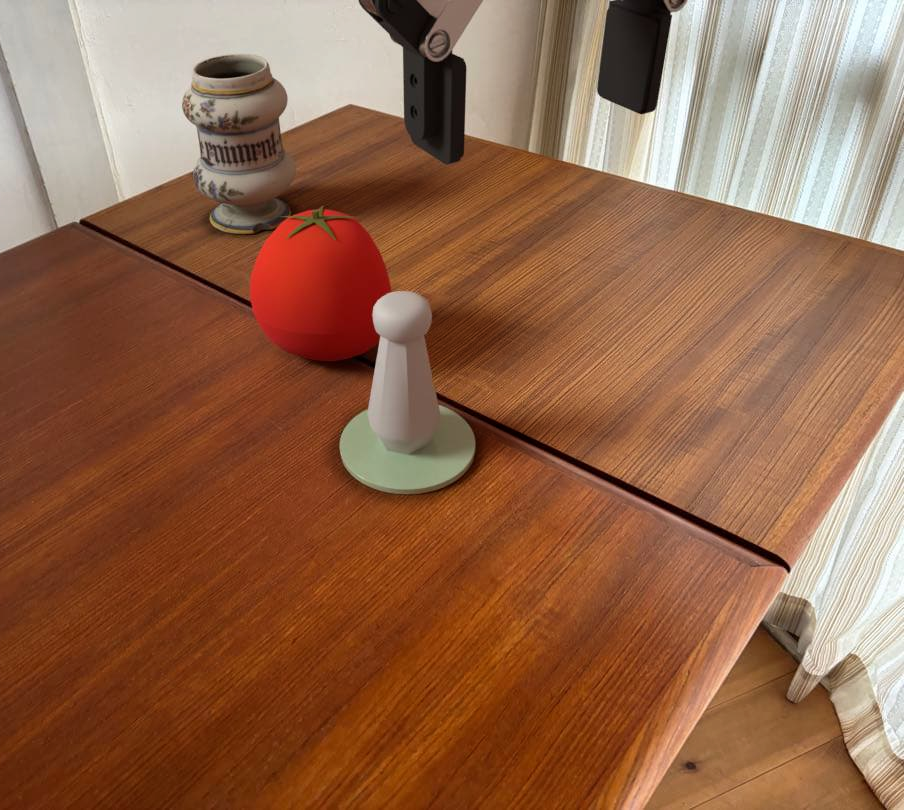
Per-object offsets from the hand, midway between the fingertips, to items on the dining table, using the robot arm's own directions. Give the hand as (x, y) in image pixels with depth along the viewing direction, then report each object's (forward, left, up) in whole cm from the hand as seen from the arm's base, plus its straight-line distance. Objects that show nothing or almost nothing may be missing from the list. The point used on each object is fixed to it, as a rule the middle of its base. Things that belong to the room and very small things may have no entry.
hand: (534, 127), depth 36 cm
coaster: (+10, -14, -32) cm, 37 cm away
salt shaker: (+10, -14, -32) cm, 37 cm away
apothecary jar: (+40, -50, -32) cm, 72 cm away
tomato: (+21, -25, -32) cm, 46 cm away
